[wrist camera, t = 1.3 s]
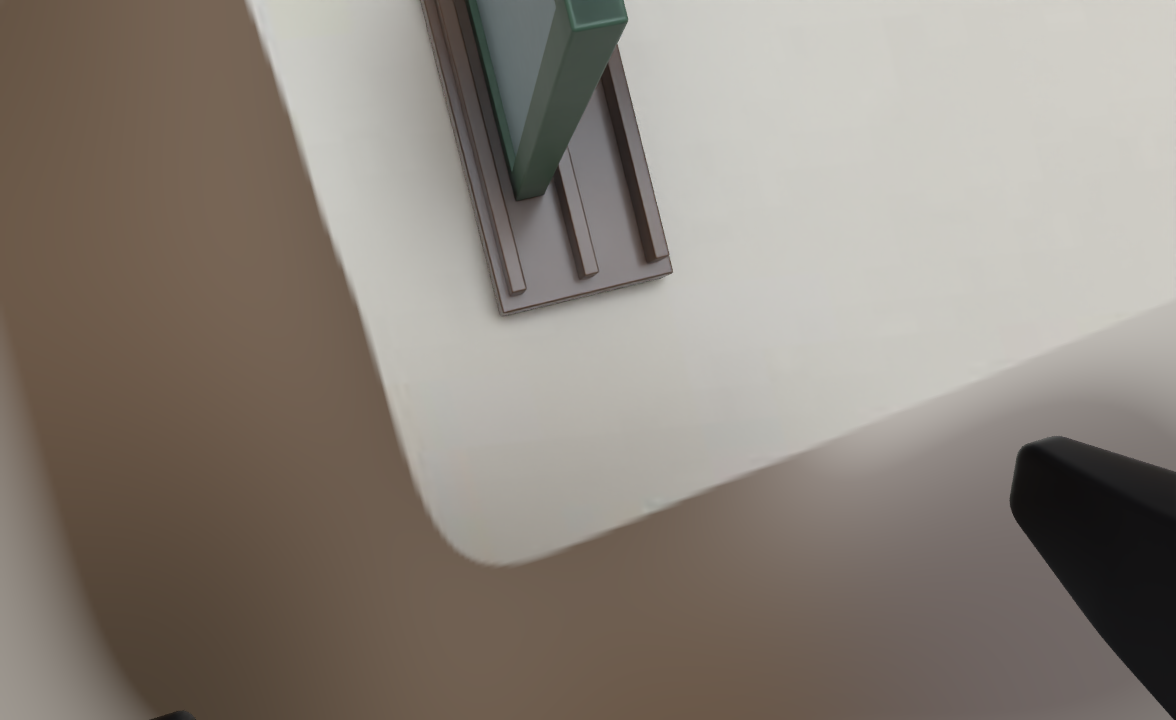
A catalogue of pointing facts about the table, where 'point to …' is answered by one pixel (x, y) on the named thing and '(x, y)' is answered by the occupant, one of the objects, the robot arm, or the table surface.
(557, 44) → the sash
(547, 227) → the frame display rack
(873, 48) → the table surface
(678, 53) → the table surface
